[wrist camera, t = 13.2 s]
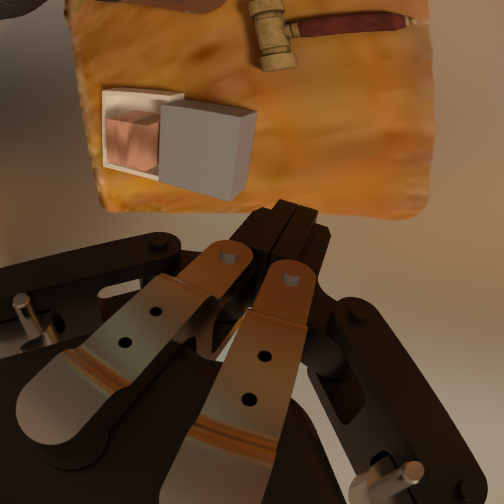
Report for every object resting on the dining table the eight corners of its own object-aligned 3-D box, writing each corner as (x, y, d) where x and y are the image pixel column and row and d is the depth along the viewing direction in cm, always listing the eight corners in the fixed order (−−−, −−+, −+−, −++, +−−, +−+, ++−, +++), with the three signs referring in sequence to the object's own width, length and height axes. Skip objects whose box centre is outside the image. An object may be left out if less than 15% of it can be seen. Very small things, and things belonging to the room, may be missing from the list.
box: (118, 87, 47) (102, 90, 44) (184, 92, 44) (170, 95, 41) (117, 159, 56) (103, 166, 52) (179, 174, 53) (165, 182, 49)
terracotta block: (174, 116, 46) (135, 110, 48) (146, 125, 41) (106, 118, 42) (171, 157, 50) (134, 148, 52) (145, 171, 45) (106, 160, 46)
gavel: (411, -18, 23) (428, 57, 28) (405, -9, 27) (420, 59, 32) (241, 2, 31) (258, 72, 35) (252, 8, 35) (267, 72, 39)
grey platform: (184, 99, 45) (161, 104, 40) (257, 111, 42) (240, 117, 38) (179, 169, 52) (158, 181, 47) (245, 187, 49) (229, 202, 45)
